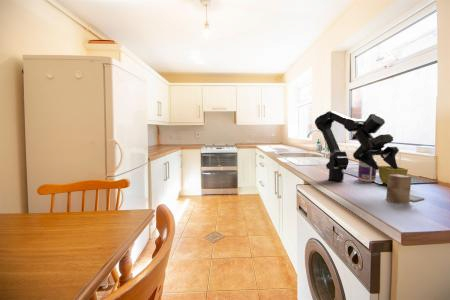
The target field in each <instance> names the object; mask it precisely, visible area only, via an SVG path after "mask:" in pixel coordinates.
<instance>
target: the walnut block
mask: <svg viewBox="0 0 450 300" xmlns="http://www.w3.org/2000/svg"><path fill="white" fill-rule="evenodd" d="M411 187H412V176H408V175H406V176H404V175H400V174H393V175H388V184H387V185H386V197H385V200H387V201H390V202H393V203H395V204H406V203H407V204H409V203H410V201H409V198H410V195H411Z"/></svg>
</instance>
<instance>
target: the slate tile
mask: <svg viewBox="0 0 450 300" xmlns="http://www.w3.org/2000/svg"><path fill="white" fill-rule="evenodd" d="M422 200H425V197H423V196H422V197H421V196H418V195H413V194H410V198H409V202H412V203H414V202H419V201H422Z"/></svg>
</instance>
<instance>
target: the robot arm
mask: <svg viewBox="0 0 450 300" xmlns="http://www.w3.org/2000/svg"><path fill="white" fill-rule="evenodd" d="M334 122H336V123H339V124H340V125H343V127H344V129H346V131H347V132H354V133H353V134H352V136H351V140H352V141H353V140H356V141H358V143H359V144H360V145H359V147H358V148H356V150H355V151H354V152H353V153H352V157H353V158H354V159H355V160H357V161H358V162H359V161H361V162H363V163H365V164H367V165H369V166H371V167H372V168H374V169H376V171H379V165H378V164H377V163H376V162H375V160H376V159H375V158H374V159H375V160H374V159H373V157H372V155H374V156H380V158H382V160H383V161H384V162H385V163H386V164H388V166H391V167H393V168H394V169H397V168H398V167H399V166H398V164H397V160H396V155H397V154H398V152H400V149H399V148H398V146H386V147H385V145H387V144H391V143H392V142H393V141H394V136H392V135H391V134H389V133H387V134H379V135H377V136H375V137H374V136H373V134H376V133H377V132H378V131H379V130H380V129H381V128H382V126H384V125H385V123H386V121H385V119H384V118H382V117H380V116H378V115H376V113H375V114H374V113H370V114H369V115H368V117H367V118H366V120H364V119H359V118H351V117H349V116H347V115H345V114H341V113H340V112H339V111H338V112H337V111H336V110H329V111H327V112H325V113H324V114H321V115H319V116H317V117H316V119H315V120H314V124H315V126H316V128H317V130H319V131H320V132H321V134H322V135H323V136H322V137H323V138H324V141H325V143H326V146H327V148H328V151H329V157H328V159H329V161H328V162H327V163H326V164H325V168H326V170H328V178H327V181H330V182H331V181H332V182H337V183H338V182H339V183H342V181H344V179H345V172H344V170H345V171H346V170H347V167H348V165H349V163H350V162H349V157H348V154H347V152H346V151H345V150H343V151H342V150H341V149H340V147H339V144H338V142H337V140H336V137H335V135H334V133H333V130H332V126H333V123H334ZM383 148H384V149H383Z"/></svg>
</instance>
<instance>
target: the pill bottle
mask: <svg viewBox="0 0 450 300" xmlns="http://www.w3.org/2000/svg"><path fill="white" fill-rule="evenodd" d="M372 157H373V159H374V160H375V162H376V163H377V162H378V161H377V159H376V158H375V155H372ZM376 177H377V170H376V169H374V168H372V167H371V166H369V165H367V164H365V163H363V162H361V161H358V172H357V179H358V180H359V181H362V182H367V183H372V181H374V182H375V181H376Z"/></svg>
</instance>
